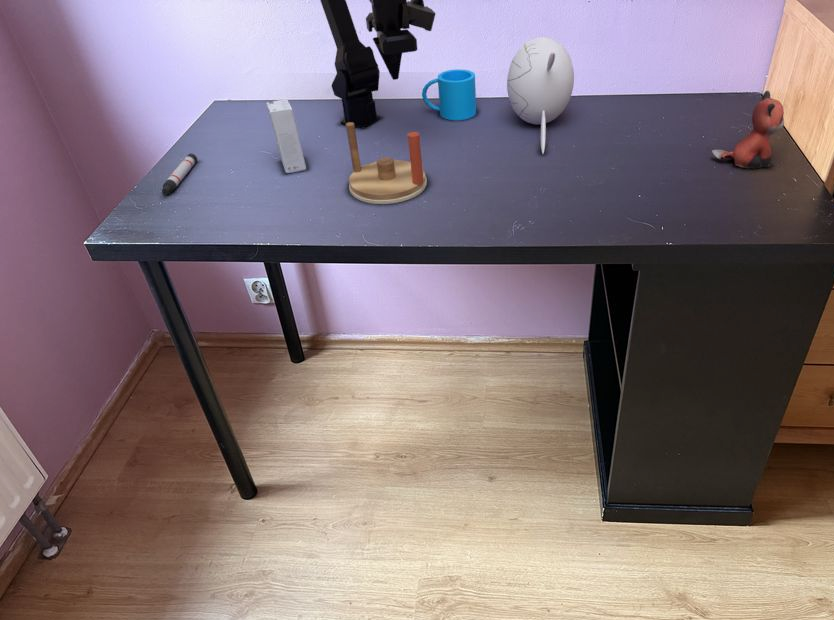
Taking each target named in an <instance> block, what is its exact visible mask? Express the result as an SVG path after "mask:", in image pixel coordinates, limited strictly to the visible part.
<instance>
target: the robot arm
mask: <svg viewBox="0 0 834 620" xmlns="http://www.w3.org/2000/svg"><path fill="white" fill-rule="evenodd" d="M368 1H369V3H370V4H371V12H369V13H368V15H367V16H366V17H365V24H366V29H367V31H368V32H369V33H371V32H373V29H374V31H375V32H376V37H375V36H374V37H373V38H372V40H373V43H374V45H375V46H376V49H377V50H378V53H379V55H380V57H381V59H382V61H383V63H384V65H385V67H386V69H387V71H388V74H389V75H390V77H391V79H392V80H394V81H395V80H398V79H399V78H400V71H401V63H402V56H403V54H405V53H413V52H416V51H418V39H417V37H415V35H414V34H413V33H412V32H411V31H410V30H409V29H410V25H411V26H414V27H416V28H420V29H424V30H425V31H426V32H432V29H433V26H434V22H435V18H436V11H434V10H433V8H430V7H428V6H427V5H426V6H425V2H424V0H410V1H409V0H368ZM320 3H321V6H322V9H323V13H324V15H325V18H326V21H327V24H328V27H329V29H330V32H331V35H332V38H333V41H334V44H335V47H336V53H335V57H334V58H335V59H334V67H335V71H336V74H335V76H334V79H333V80H332V83H331V89H332V92H333V95H334V96H335V97H337V98H338V99H341V104H342V108H343V109H342V110H343V115H344V116H343V117H344V119H341V120H340V124H341V125H345V126H346V124H347V123H349V122H352V123H354V126H355V128H359V129H365V128H367V127H368V126H370V125H371V124H373V123H375V122H376V121H378V120H380V119H381V116H380V115H379V114H377V109H376V101H375V100H374V96H373V95H374V94H373V92H378V91H379V85H380V75H381V74H380V72H381V71H380V68H379V64H378V62H377V60H376V58H375V53H374V51H373V49H372V47H371V46H370V45H369V46H366V45H365V44H363V42H362V41H361V40H360V38H359V35H358V33H357V30H356V26H355V24H354V20H353V18H352V14H351V12H350V9H349V6H348V3H347V0H320Z"/></svg>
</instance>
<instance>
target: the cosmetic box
mask: <svg viewBox="0 0 834 620" xmlns="http://www.w3.org/2000/svg"><path fill="white" fill-rule="evenodd" d="M266 107H267V112H268V115H269V119H270V123H271V126H272V130H273V134H274V137H275V141H276V144H277V149H278V152H279V153H278V154H279V156H280V160H281V163H282V166H283V169H284V172H285V174H293V173H298V172H303V171H306V170H307V165H306V160H305V157H304V153H303V148H302V143H301V140H300V135H299V131H298V127H297V124H296V120H295V115H294V109H293V108H292V106H291V104H290V102H289V100H288V98H283V99H278V100H273V101H268V102H266Z"/></svg>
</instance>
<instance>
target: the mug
mask: <svg viewBox="0 0 834 620" xmlns="http://www.w3.org/2000/svg"><path fill="white" fill-rule="evenodd" d="M434 84H437V87H438V88H437V89H438V102H439V103H438V104H439V106H437V105H435V104H433V103H432V102H430V100H429V98H428V96H427V93H428V90H429V88H430V87H432V85H434ZM421 92H422V93H421V97H422V100H423V102H424V103H425V105H426V106H428V108H430V109H432V110H435V111H437V112H439V115H440V117H441V118H443V119H445V120H448V121H449V120H450V121H462V120H463V121H465V120H468V119H471V118H473V117H475V116H476V115H477V96H476V94H477V93H476V74H475V73H474V71H471V70H469V69H462V68H461V69H459V68H458V69H449V70H445V71H441V72H440V73H438V75H437V78H434V79H432V80H429V81H428V82H427V83H426V84H425V85H424V87H423V88H422V91H421Z"/></svg>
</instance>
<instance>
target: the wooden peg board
mask: <svg viewBox="0 0 834 620" xmlns="http://www.w3.org/2000/svg"><path fill="white" fill-rule="evenodd" d="M345 129H346V134H347V140H348V146H349V153H350V158H351V165H352V171H353V172H352V173H351V174H350V176H349V179H348V182H349V183H350V188H351V190H352V191H353V192H354V193H355V194H357V195H359V196H361V197H365V198H369V199H378V200H384V199H394V198H400V197H403V196H407V195H409V194H412V193H414V192H416V191H417V190H419V189H420V188H421V187H422V186H423V185H424V183H425V176H426V172H425V170H424V169H423V161H422V148H421V138H420V137H421V136H420V132H418V131H411V132H408V133H407V142H408V152H409V160H410V161H408V160H402V159H394V158H392V157H381V158H378V159H377V160H376V161H374V162H371V163H367V164H364V165H361V159H360V154H359V146H358V140H357V132H356V127H355V126H354V123H352V122H349V123H347V124H346V125H345ZM349 183H348V184H349Z"/></svg>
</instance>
